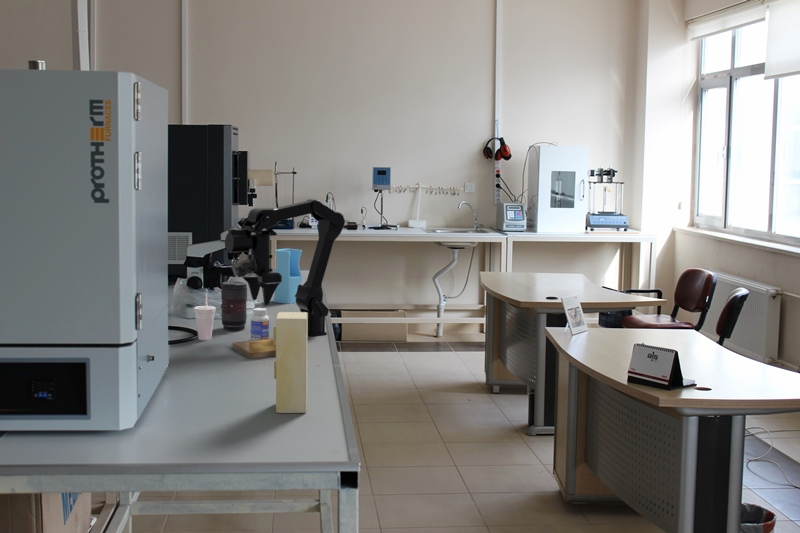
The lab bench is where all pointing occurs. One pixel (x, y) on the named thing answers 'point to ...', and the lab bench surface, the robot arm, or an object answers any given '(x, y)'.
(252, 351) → the shelf board
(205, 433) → the lab bench surface
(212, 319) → the smoothie
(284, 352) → the toy refrigerator
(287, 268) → the vase
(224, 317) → the camera lens
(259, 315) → the pill bottle
